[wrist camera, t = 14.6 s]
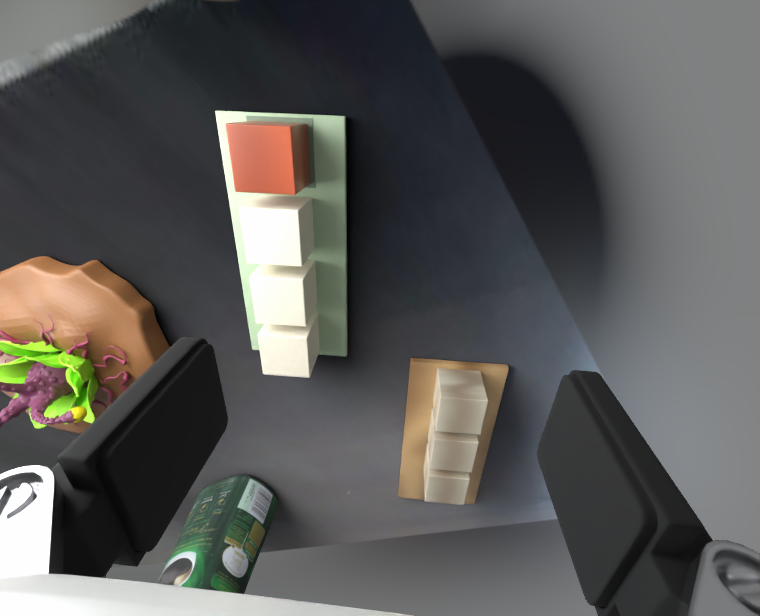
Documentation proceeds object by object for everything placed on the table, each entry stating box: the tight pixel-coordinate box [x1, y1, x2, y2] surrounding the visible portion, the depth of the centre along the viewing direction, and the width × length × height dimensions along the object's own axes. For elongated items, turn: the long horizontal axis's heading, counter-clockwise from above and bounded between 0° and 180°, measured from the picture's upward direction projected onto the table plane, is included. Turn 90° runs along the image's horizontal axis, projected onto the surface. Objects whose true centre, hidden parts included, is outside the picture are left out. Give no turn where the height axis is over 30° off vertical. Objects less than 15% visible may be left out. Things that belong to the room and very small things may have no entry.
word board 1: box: [215, 111, 347, 378], centre depth 29 cm, size 9×20×5 cm, turn 178°
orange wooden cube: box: [225, 121, 310, 195], centre depth 25 cm, size 4×4×4 cm
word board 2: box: [398, 358, 509, 505], centre depth 38 cm, size 9×20×5 cm, turn 178°
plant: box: [0, 256, 170, 434], centre depth 33 cm, size 20×20×11 cm
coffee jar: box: [157, 475, 278, 594], centre depth 39 cm, size 10×8×19 cm
